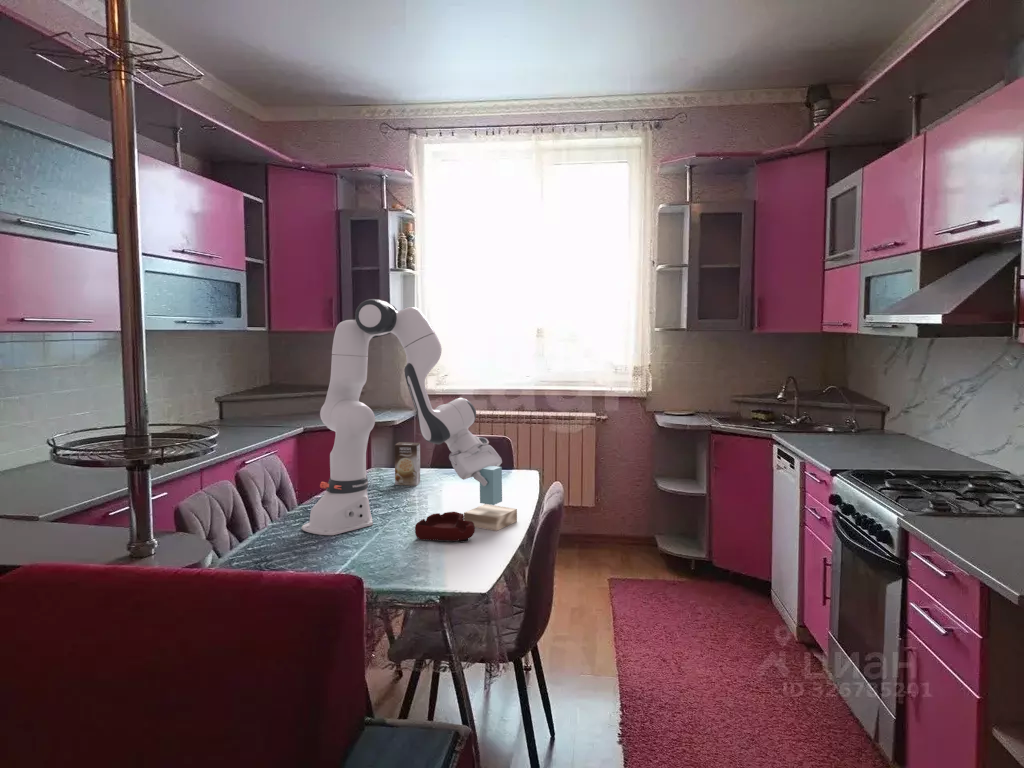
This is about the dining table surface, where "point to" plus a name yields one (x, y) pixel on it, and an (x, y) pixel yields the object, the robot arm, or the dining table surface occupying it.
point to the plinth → (491, 517)
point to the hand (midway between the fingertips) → (492, 482)
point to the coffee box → (407, 463)
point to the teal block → (491, 485)
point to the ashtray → (445, 527)
